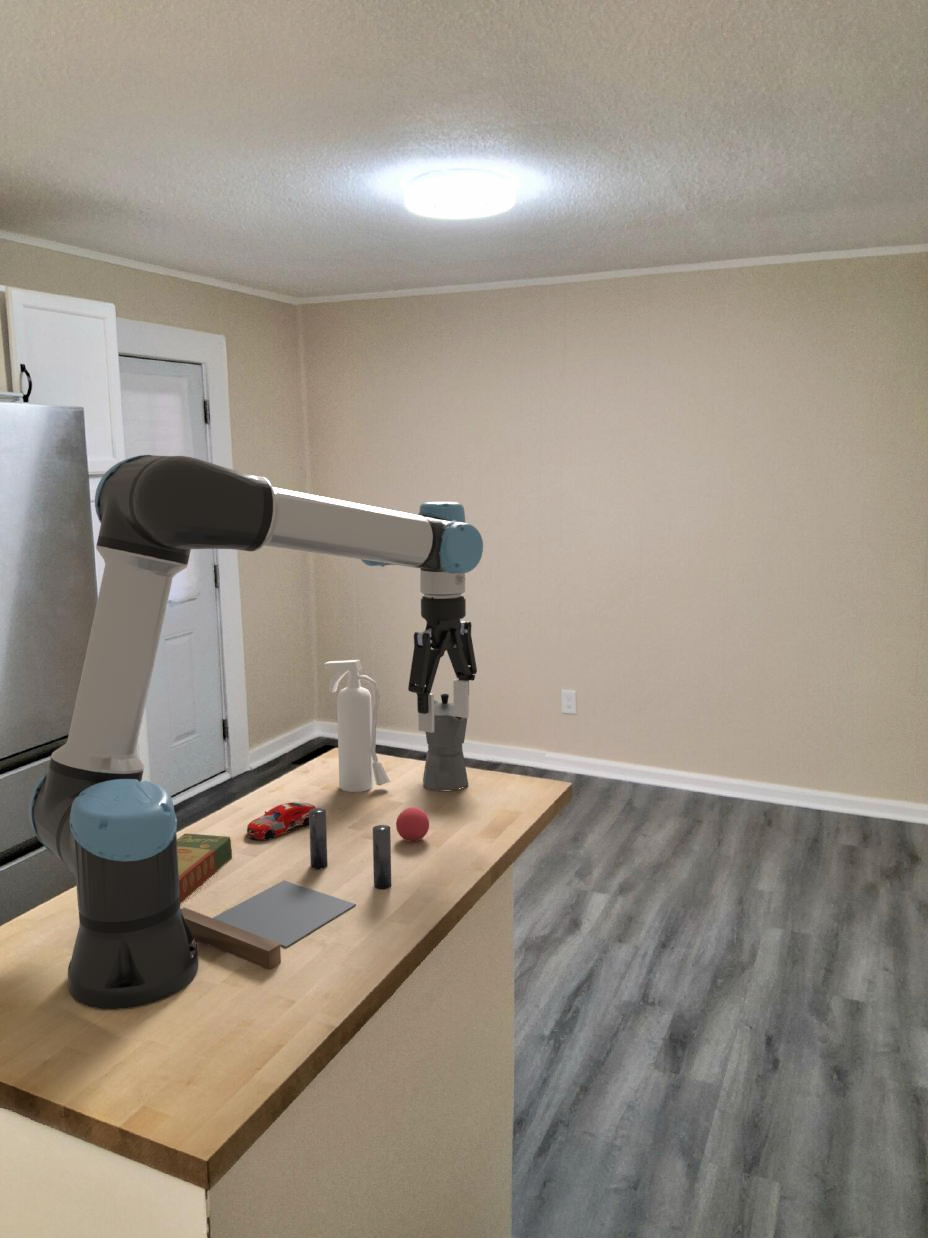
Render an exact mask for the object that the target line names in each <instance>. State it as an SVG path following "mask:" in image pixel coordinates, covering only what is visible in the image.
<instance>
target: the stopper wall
mask: <svg viewBox="0 0 928 1238" xmlns="http://www.w3.org/2000/svg"><path fill="white" fill-rule="evenodd" d="M181 911H182V913H183V915H184V918H185V920H186V922H187V924H188V927H189V929H190V931H191V933H192V936H193V938H194V940H196V941H198V942H200V943H203V944H206V945H208V946H210V947H213V948H215V949H217V950H220V951H223V952H225V953H227V954H229V955H232V956H234V957H237V958H240V959H242V960H244V961H247V962H250V963H252V964H254V965H257V966H259V967H262V968H264V969H267V970H271V969H273V968H274V967H277V966H278V965H280V964H282V954H281V953H282V952H281V946H280V944H278V943H276V942H273V941H270V940H268V939H265V938H262V937H260V936H257V935H255V934H252V933H249V932H247V931H244V930H242V929H239V928H236V927H234V926H231V925H229V924H226V923H223V922H221V921H218V920H216V919H213V917H210V916H208V915H205V914H202V913H201V912H197V911H195V910H192V909H189V908H187V907H182V908H181Z"/></svg>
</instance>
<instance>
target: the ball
mask: <svg viewBox="0 0 928 1238" xmlns="http://www.w3.org/2000/svg"><path fill="white" fill-rule="evenodd" d="M395 828H396V831H397V834H398V835H399V836H400V837H401V838H402V839H403V840H405V841H408V842H418V841H420V840H422V839H423V838H424V837H425V836H426V835H427V834H428V831H429V828H430V820H429V816H428V814H426V813H425V811H424V810H422V809H420V808H418V807H408V808H405V809H403V810H402V811H401V812H400V813H399V814H398V816H397V818H396V822H395Z"/></svg>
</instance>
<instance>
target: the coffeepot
mask: <svg viewBox="0 0 928 1238" xmlns="http://www.w3.org/2000/svg"><path fill="white" fill-rule="evenodd" d="M440 698H441V702H439V701H438V700H436V699H434V732H433V733H430V732H425V738H426V744H427V751H426V759H425V764H424V771H423V775H422V776H423V777H422V783H423V787H425V788H426V789H428V788H429V789H428V790H431V789H432V790H431V791H435V790H438V791H437V792H442V791H441V790H455V791H459V790H460V789H459V788H462V787H464V788H466V787H467V786H468V785H469V779H468V774H467V768H466V762H465V761H466V760H465V756H464V755H465V754H464V752H463V744H464V743H465V739H466V730H467V724H468V718H462V717H457V716H454V702H449V699H450V695H449V694H447V693H442V694H440ZM466 785H467V786H466ZM465 786H466V787H465ZM458 789H459V790H458ZM462 789H463V788H462Z"/></svg>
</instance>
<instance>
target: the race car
mask: <svg viewBox="0 0 928 1238" xmlns="http://www.w3.org/2000/svg"><path fill="white" fill-rule="evenodd" d="M314 808H317V807H316V806H315V805H314V804H311V803H309V802H295V801H292V802H286V803H282V804H278V805H276V806H274V807H272V808H270V809H268V811H264V814H263V815H261V816H260V817H257V818H255V819H253V820H251V821H250V822H249V823H248V824H247V826H246V827H247V828H246V836H247V837H249V838H252V839H255V840H264V841H269V840H271V839H274V838H275V837H280V836H281V835H284V834H287V833H290V832H293V831H296V830H300V829H302V828H307V827H309V810H311V809H314Z"/></svg>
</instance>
